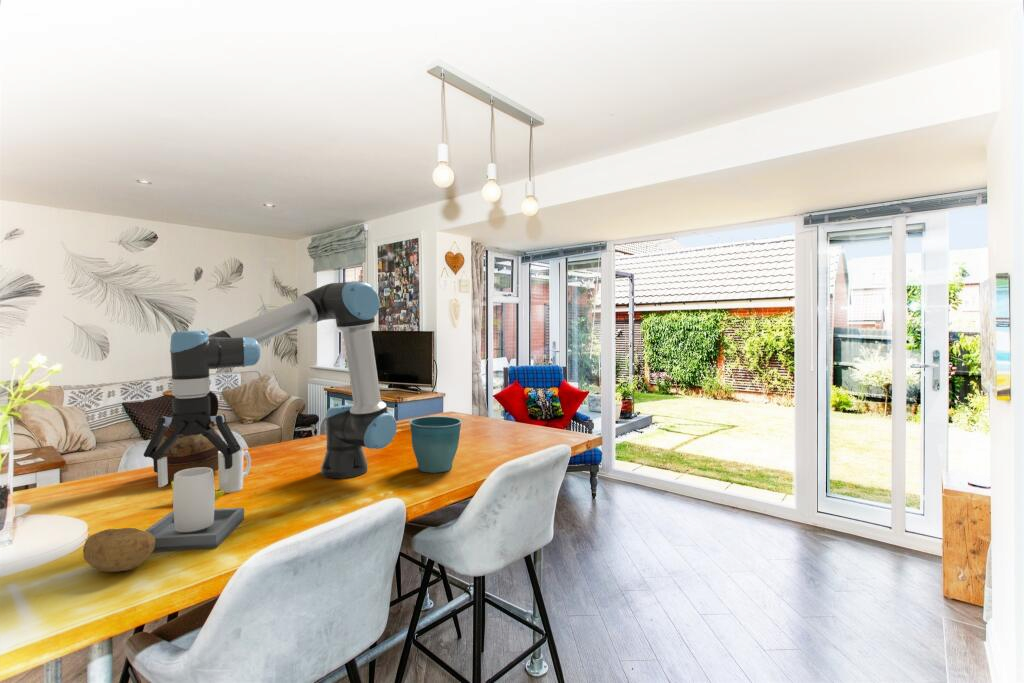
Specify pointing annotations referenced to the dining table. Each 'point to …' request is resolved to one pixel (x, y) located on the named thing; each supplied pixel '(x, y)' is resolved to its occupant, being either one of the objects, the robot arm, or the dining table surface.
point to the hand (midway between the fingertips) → (194, 483)
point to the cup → (193, 499)
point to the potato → (118, 549)
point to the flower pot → (435, 442)
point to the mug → (235, 472)
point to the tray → (197, 539)
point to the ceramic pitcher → (191, 446)
